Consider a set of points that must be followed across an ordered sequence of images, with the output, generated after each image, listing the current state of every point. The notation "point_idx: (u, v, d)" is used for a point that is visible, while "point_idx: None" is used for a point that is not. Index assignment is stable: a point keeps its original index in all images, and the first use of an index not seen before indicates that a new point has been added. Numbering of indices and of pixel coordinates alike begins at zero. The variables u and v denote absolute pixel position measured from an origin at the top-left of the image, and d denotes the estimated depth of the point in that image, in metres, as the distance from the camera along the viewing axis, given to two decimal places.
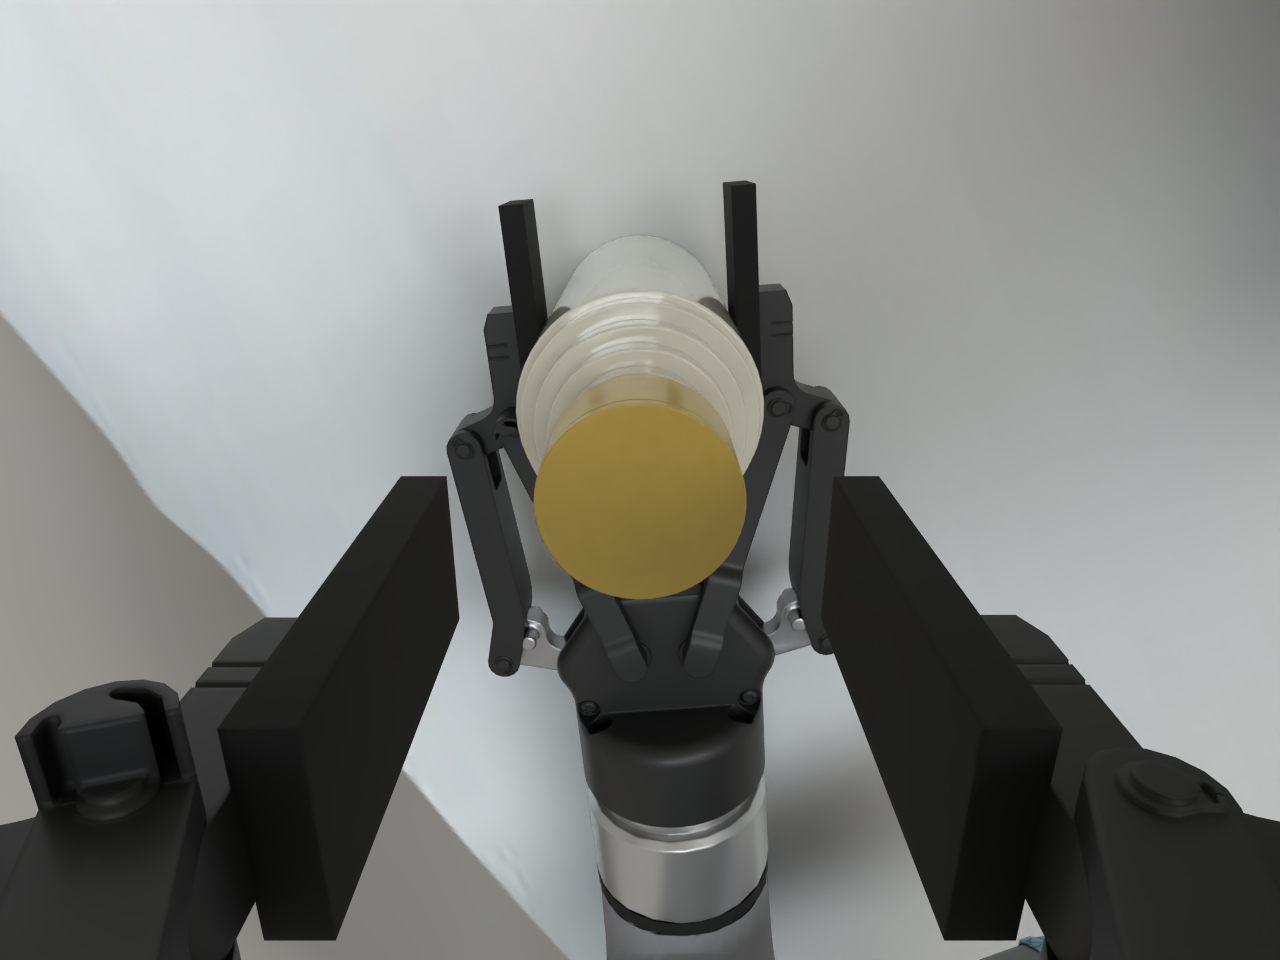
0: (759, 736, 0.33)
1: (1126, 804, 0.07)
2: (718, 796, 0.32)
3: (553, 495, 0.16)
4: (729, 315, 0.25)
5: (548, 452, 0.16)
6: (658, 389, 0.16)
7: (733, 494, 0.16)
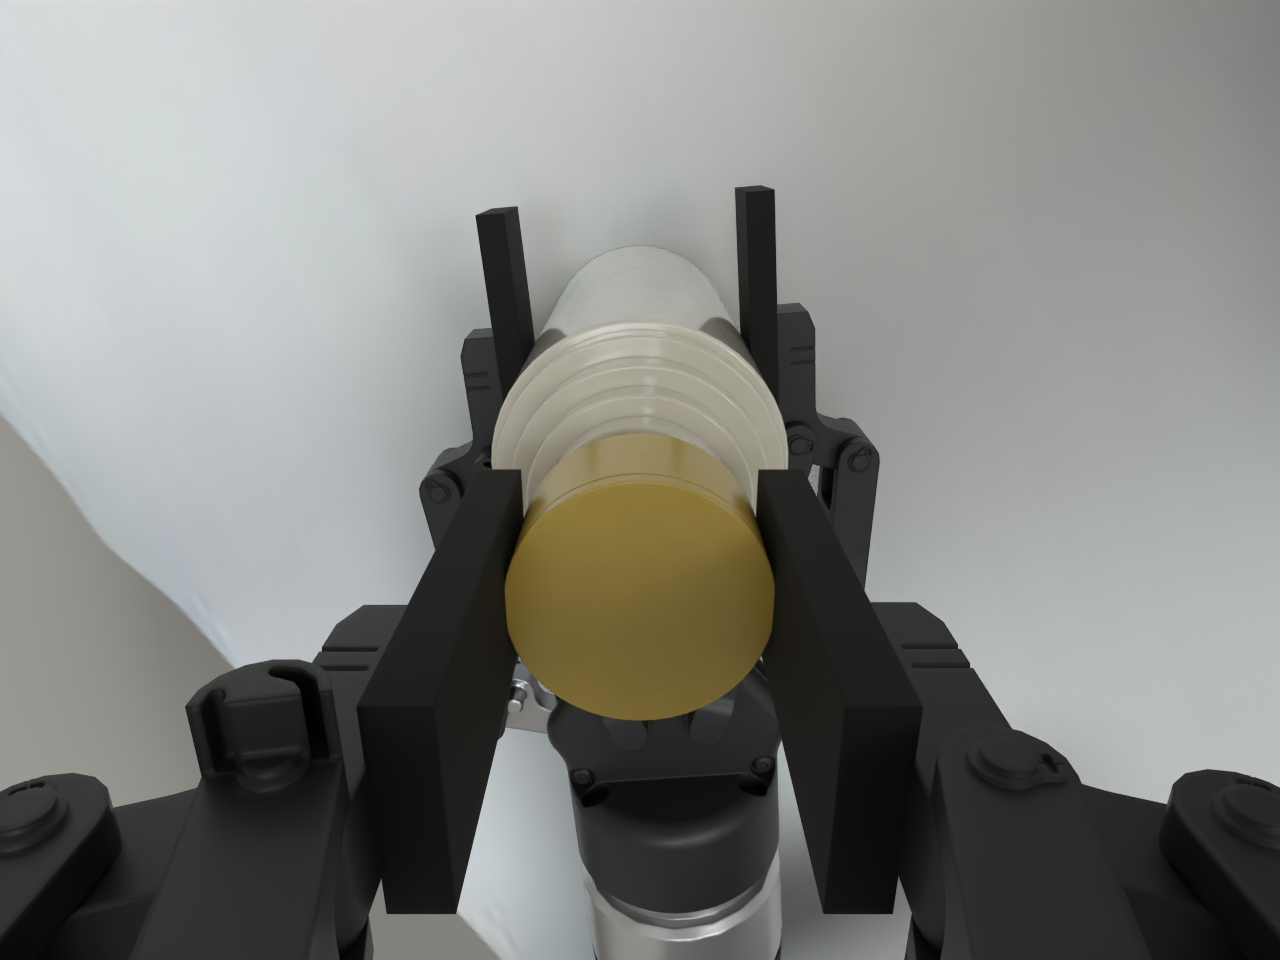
0: (774, 808, 0.29)
1: (975, 780, 0.07)
2: (728, 879, 0.28)
3: (528, 595, 0.12)
4: None
5: (521, 541, 0.12)
6: (663, 456, 0.13)
7: (760, 593, 0.12)
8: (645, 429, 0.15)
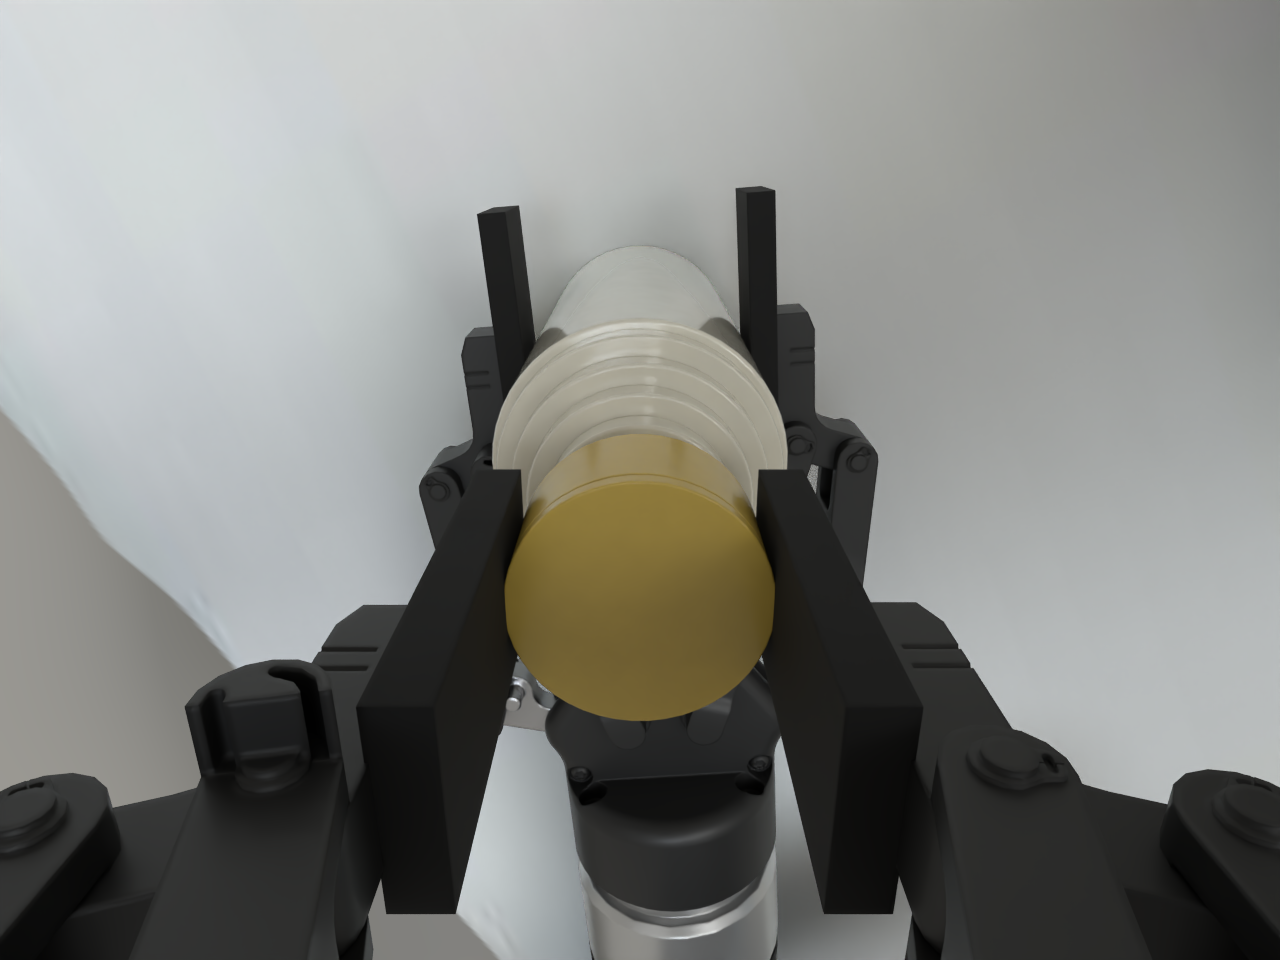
0: (770, 807, 0.29)
1: (975, 781, 0.07)
2: (724, 878, 0.28)
3: (649, 701, 0.13)
4: None
5: (597, 713, 0.13)
6: None
7: (595, 505, 0.12)
8: (646, 428, 0.15)
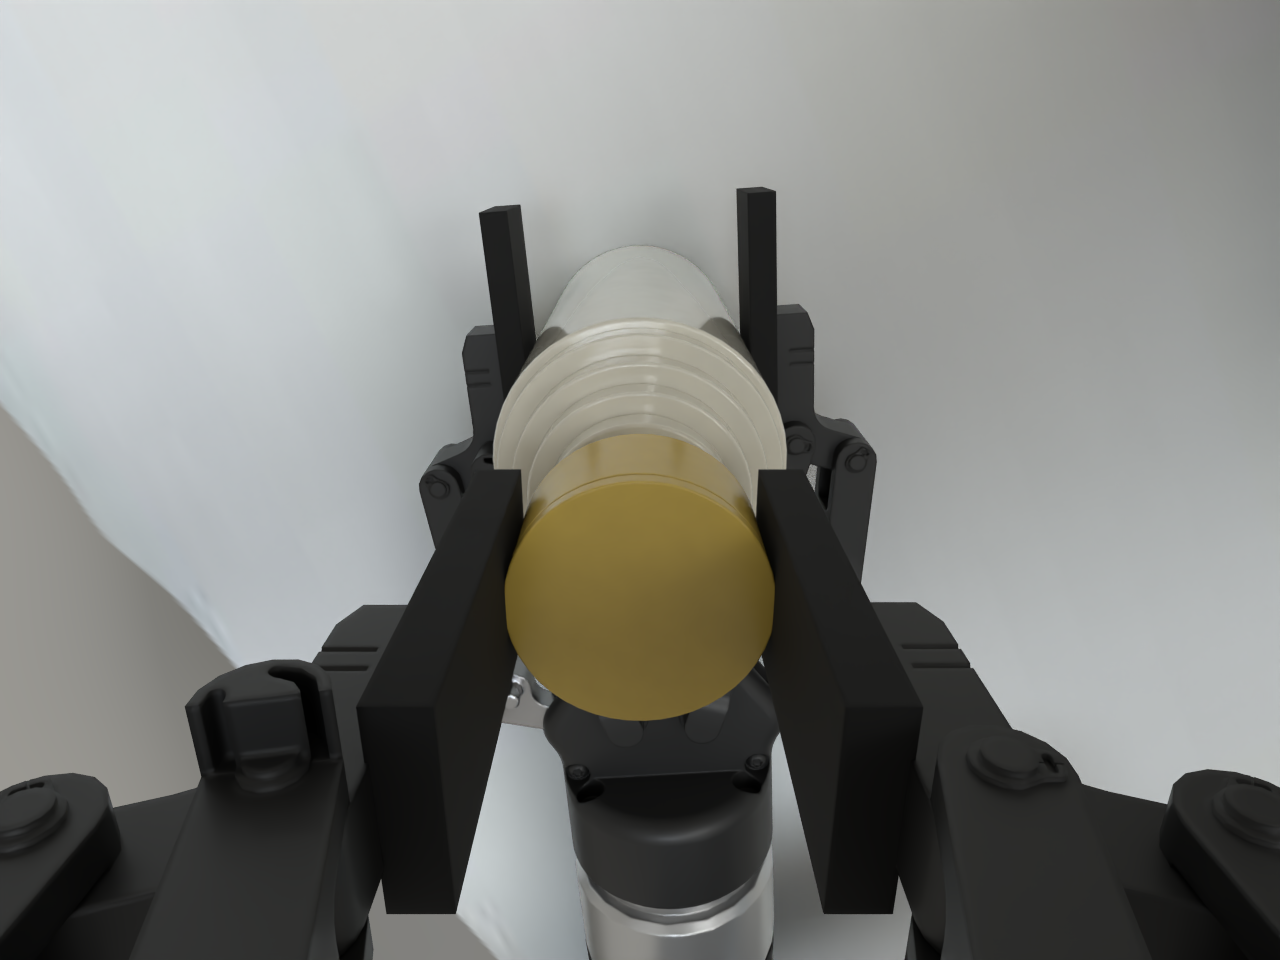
0: (767, 805, 0.30)
1: (975, 781, 0.07)
2: (721, 876, 0.28)
3: (747, 578, 0.12)
4: None
5: None
6: None
7: (542, 665, 0.13)
8: (646, 426, 0.15)
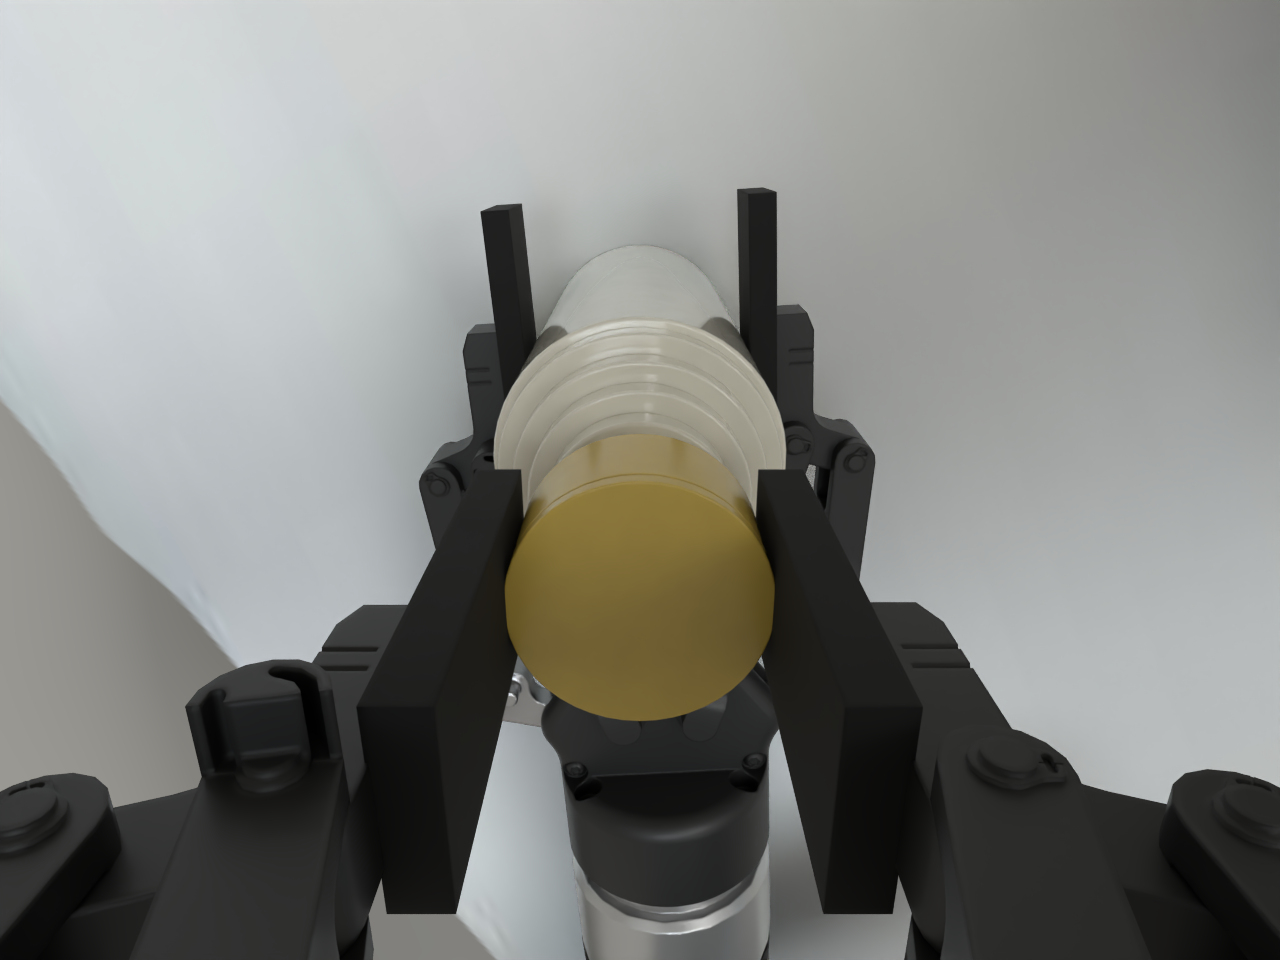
0: (764, 804, 0.30)
1: (974, 780, 0.07)
2: (717, 874, 0.28)
3: (580, 521, 0.12)
4: None
5: (624, 482, 0.12)
6: (754, 519, 0.13)
7: (724, 679, 0.13)
8: (647, 425, 0.15)
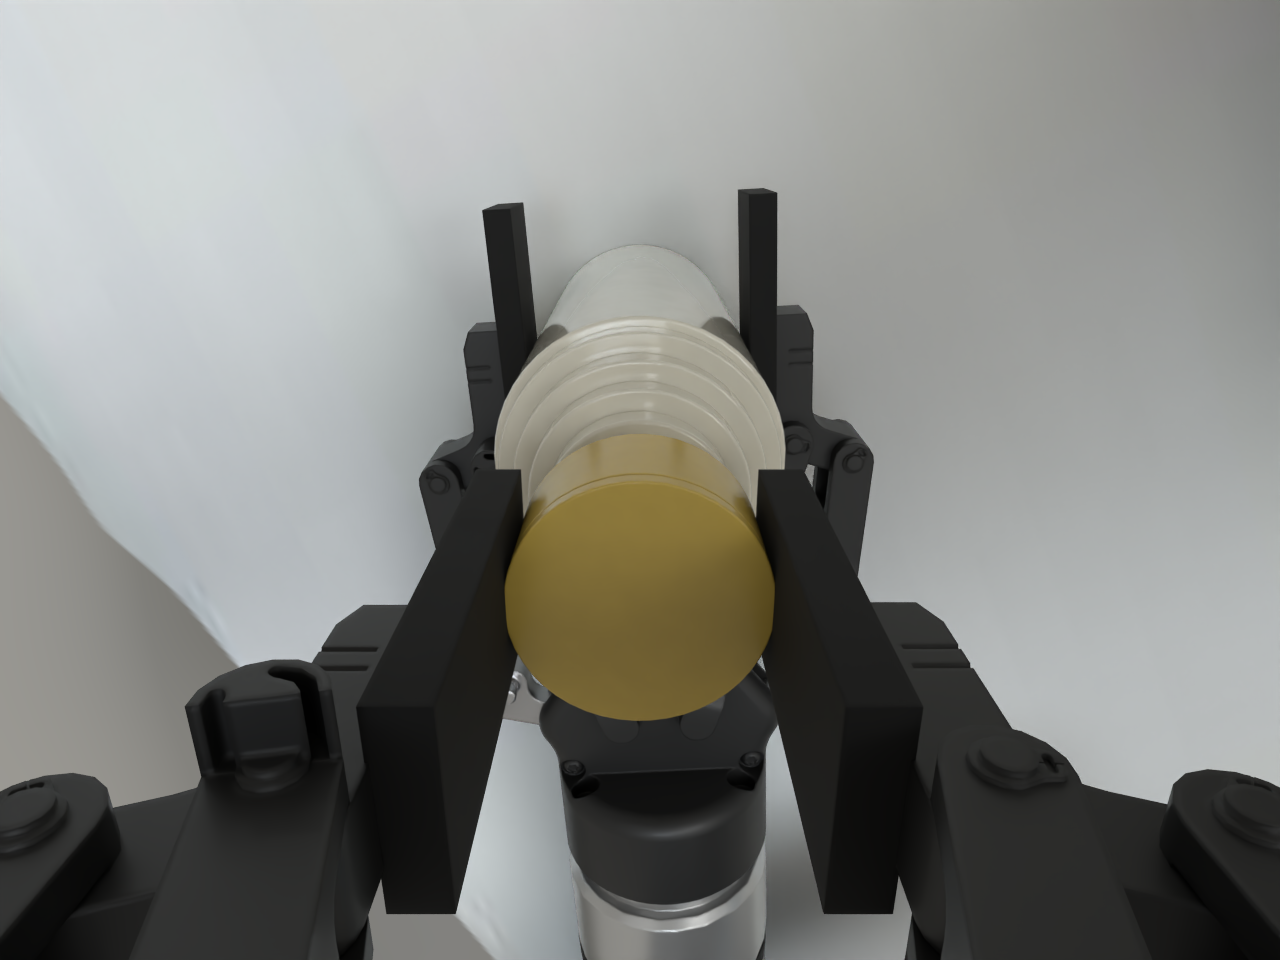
0: (761, 803, 0.30)
1: (975, 781, 0.07)
2: (714, 872, 0.28)
3: (561, 673, 0.13)
4: None
5: (514, 645, 0.13)
6: (553, 485, 0.13)
7: (704, 514, 0.12)
8: (647, 423, 0.15)
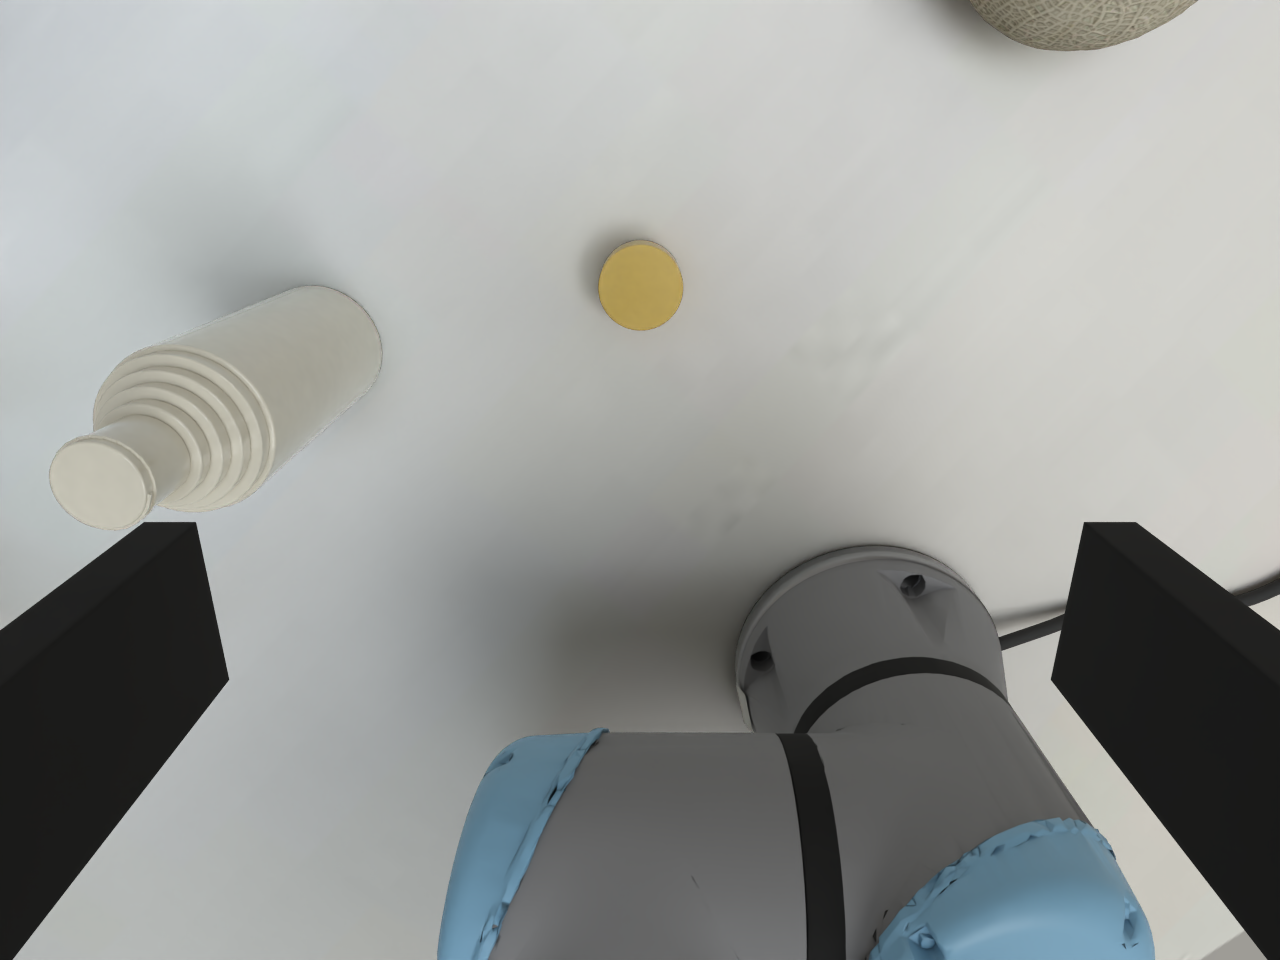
0: None
1: None
2: None
3: (615, 312, 0.41)
4: (307, 442, 0.36)
5: (601, 302, 0.41)
6: (613, 253, 0.41)
7: (660, 255, 0.40)
8: (195, 441, 0.28)
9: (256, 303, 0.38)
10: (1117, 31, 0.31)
